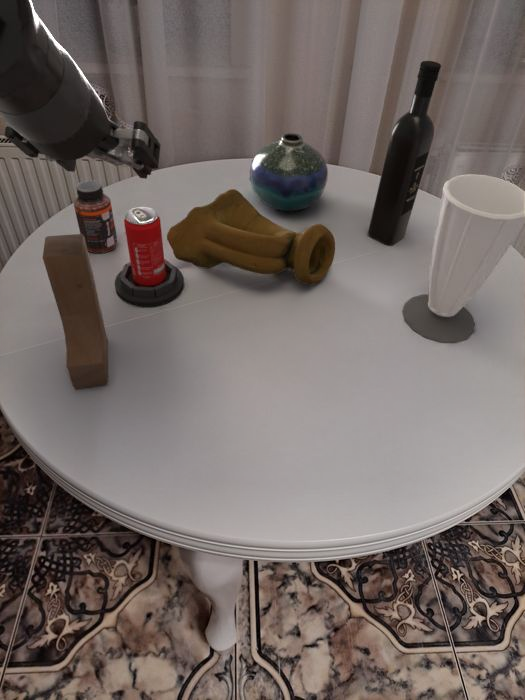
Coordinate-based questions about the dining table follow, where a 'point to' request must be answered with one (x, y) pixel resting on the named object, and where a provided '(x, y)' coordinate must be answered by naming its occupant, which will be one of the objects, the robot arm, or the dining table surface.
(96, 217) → the supplement bottle
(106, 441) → the dining table surface
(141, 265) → the beverage can
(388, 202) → the wine bottle
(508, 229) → the cup
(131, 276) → the socket pad
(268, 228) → the brown looped sculpture
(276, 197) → the vase
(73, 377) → the wooden block
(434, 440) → the dining table surface
